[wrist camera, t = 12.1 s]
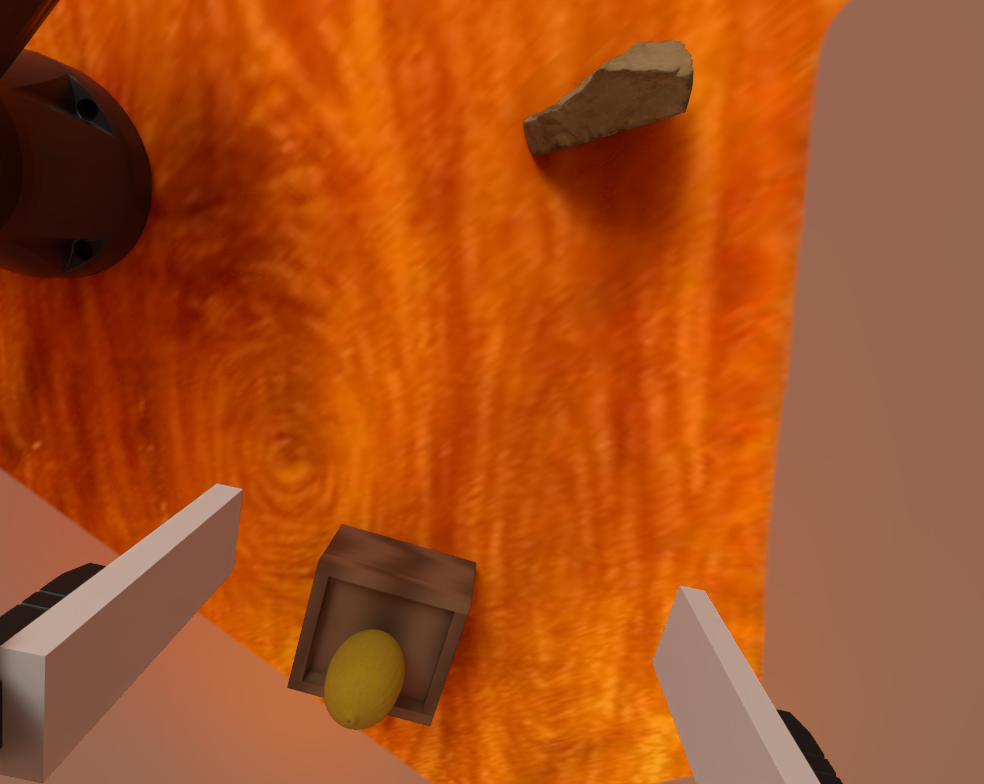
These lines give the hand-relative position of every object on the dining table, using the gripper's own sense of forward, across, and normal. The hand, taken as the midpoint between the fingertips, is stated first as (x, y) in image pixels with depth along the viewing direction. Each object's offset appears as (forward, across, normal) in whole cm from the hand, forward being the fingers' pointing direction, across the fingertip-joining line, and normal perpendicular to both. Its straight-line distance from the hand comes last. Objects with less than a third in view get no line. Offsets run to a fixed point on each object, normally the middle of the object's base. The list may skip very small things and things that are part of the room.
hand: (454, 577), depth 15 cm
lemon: (+22, -4, -22) cm, 32 cm away
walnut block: (+27, -4, -22) cm, 35 cm away
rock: (+27, +3, +21) cm, 34 cm away
